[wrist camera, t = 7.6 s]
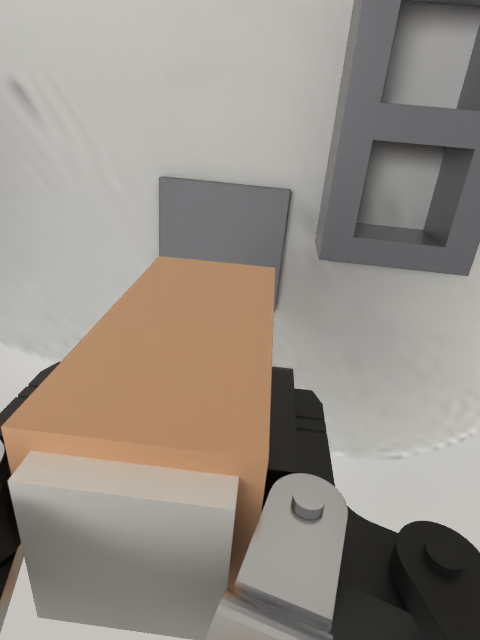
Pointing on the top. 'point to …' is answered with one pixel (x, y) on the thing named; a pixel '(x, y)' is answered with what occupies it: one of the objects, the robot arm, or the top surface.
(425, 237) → the grey block holder
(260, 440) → the plug
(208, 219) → the mat
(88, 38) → the top surface
